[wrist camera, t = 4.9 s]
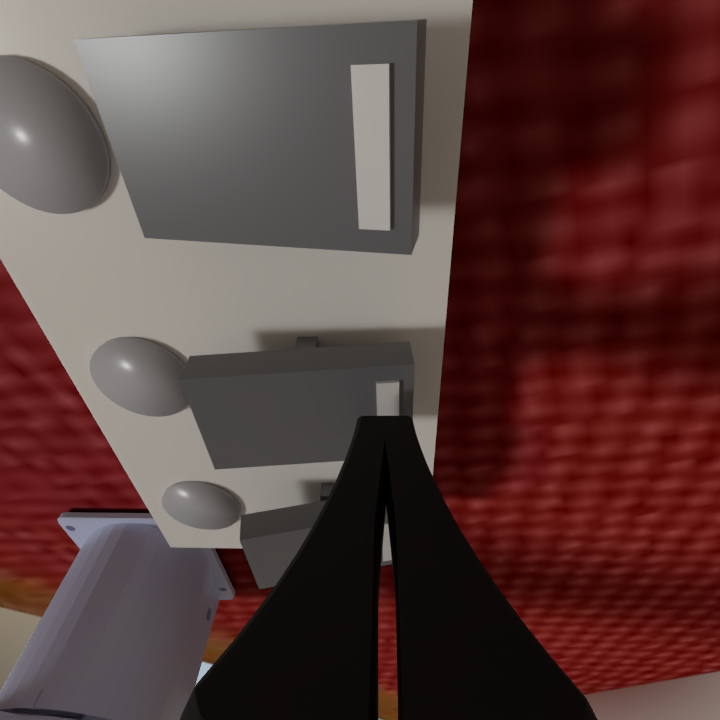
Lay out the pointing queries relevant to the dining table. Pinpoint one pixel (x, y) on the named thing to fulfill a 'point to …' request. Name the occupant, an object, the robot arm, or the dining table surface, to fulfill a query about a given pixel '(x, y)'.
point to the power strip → (203, 255)
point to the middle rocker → (294, 400)
